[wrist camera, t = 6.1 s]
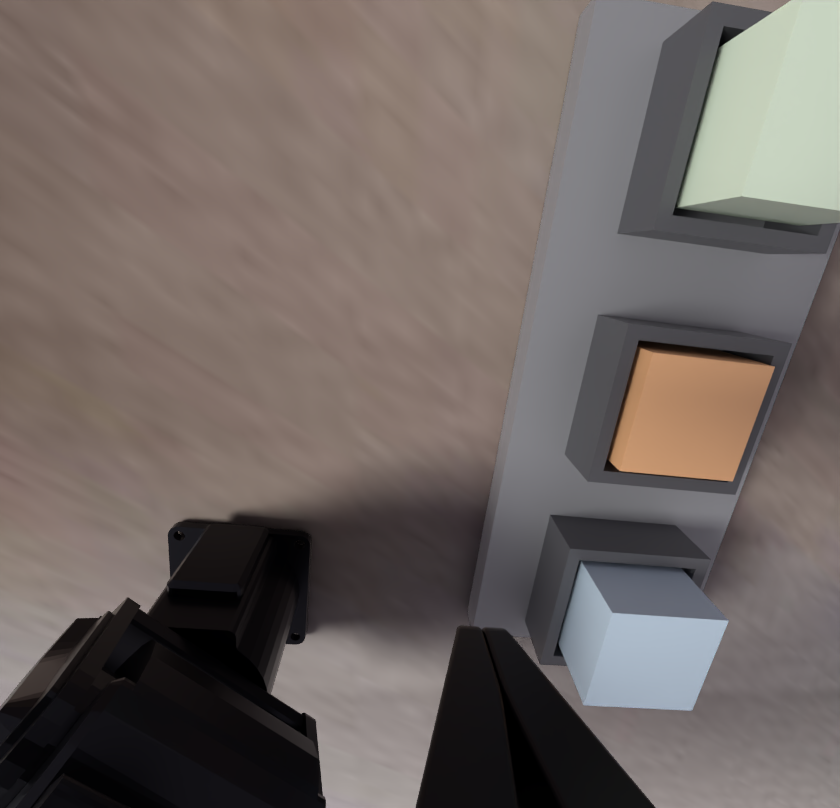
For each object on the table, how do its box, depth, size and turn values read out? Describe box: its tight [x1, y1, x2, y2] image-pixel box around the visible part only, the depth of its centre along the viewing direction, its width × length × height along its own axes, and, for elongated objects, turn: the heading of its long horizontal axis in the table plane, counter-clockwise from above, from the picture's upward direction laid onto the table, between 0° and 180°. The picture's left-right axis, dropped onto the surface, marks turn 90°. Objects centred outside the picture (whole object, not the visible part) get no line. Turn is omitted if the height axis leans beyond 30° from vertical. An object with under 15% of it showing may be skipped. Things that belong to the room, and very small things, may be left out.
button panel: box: [467, 0, 840, 666], centre depth 18 cm, size 26×11×4 cm, turn 173°
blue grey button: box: [558, 560, 729, 711], centre depth 18 cm, size 4×4×3 cm
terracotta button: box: [607, 341, 775, 481], centre depth 17 cm, size 4×4×3 cm
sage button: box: [675, 0, 840, 226], centre depth 13 cm, size 4×4×3 cm
